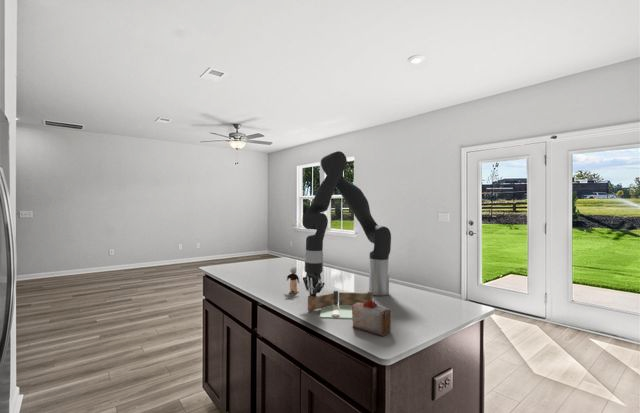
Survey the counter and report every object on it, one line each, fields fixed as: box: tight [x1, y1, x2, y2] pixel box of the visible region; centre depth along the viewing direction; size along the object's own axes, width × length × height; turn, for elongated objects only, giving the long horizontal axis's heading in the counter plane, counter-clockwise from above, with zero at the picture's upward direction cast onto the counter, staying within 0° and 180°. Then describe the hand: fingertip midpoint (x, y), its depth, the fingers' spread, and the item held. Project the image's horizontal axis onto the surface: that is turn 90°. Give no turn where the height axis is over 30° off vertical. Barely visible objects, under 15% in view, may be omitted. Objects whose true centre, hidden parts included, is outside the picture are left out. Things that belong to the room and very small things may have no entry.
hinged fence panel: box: [307, 290, 339, 312], centre depth 132 cm, size 16×2×6 cm, turn 129°
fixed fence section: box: [338, 290, 374, 306], centre depth 136 cm, size 14×2×6 cm, turn 87°
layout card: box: [319, 300, 353, 320], centre depth 132 cm, size 23×21×1 cm
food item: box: [351, 299, 392, 337], centre depth 111 cm, size 14×8×10 cm, turn 50°
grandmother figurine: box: [286, 266, 301, 294], centre depth 156 cm, size 8×4×13 cm, turn 71°
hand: (312, 302), depth 132 cm, fingers closed
